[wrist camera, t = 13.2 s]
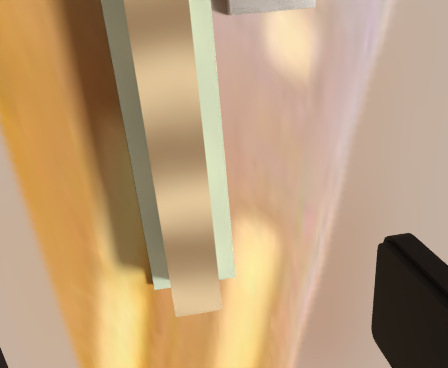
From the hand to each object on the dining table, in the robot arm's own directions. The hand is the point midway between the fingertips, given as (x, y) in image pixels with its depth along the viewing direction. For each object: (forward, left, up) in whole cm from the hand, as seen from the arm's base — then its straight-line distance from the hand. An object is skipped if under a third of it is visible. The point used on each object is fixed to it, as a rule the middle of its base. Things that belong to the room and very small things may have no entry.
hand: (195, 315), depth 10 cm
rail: (0, 0, -17) cm, 17 cm away
